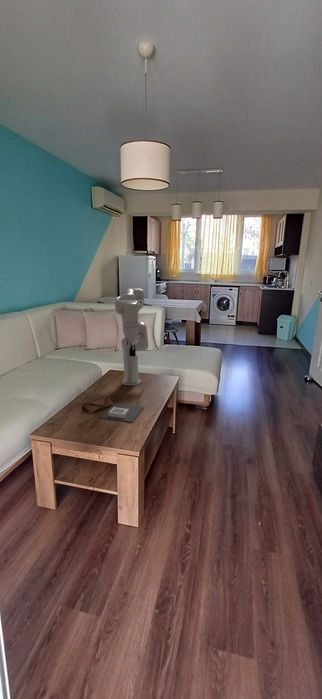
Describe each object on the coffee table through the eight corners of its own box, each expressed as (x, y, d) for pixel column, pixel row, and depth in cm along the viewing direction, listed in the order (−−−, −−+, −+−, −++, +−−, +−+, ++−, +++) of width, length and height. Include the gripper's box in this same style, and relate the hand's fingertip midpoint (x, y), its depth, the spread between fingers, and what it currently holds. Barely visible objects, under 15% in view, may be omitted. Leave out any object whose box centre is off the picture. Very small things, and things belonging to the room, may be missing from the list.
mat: (115, 403, 190) (115, 402, 190) (144, 407, 184) (144, 406, 184) (100, 417, 173) (100, 416, 173) (132, 422, 168) (132, 421, 168)
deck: (113, 406, 179) (108, 412, 173) (128, 408, 177) (124, 414, 171) (113, 410, 180) (108, 416, 174) (129, 412, 177) (124, 418, 171)
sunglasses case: (90, 414, 176) (85, 403, 177) (84, 417, 182) (80, 405, 182) (117, 404, 188) (113, 393, 189) (111, 407, 194) (107, 396, 194)
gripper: (130, 321, 191) (131, 352, 196) (119, 326, 178) (121, 359, 183) (142, 322, 189) (143, 353, 194) (132, 327, 175) (133, 360, 180)
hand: (132, 355), depth 188 cm, fingers closed
